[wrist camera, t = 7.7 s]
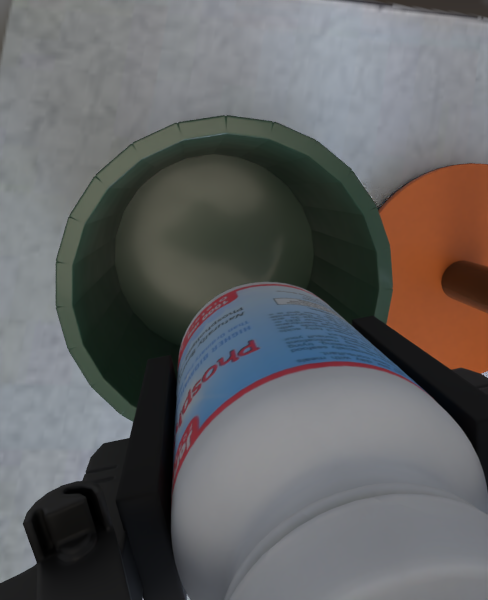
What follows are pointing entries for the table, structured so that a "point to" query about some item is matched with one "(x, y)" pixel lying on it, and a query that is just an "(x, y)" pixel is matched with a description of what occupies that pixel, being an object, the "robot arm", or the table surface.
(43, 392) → the table surface
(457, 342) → the tin lid
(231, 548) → the pill bottle
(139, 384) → the tin
